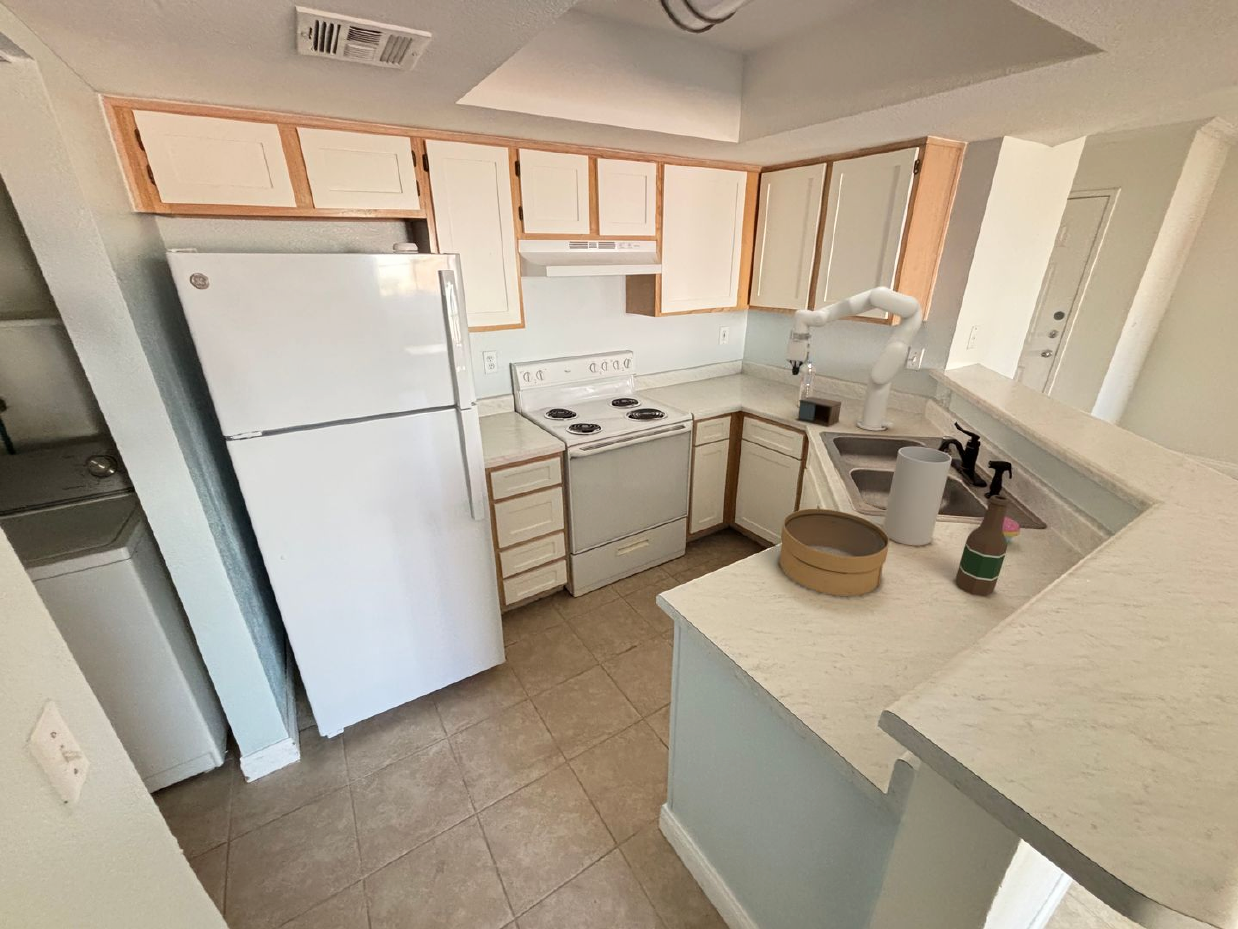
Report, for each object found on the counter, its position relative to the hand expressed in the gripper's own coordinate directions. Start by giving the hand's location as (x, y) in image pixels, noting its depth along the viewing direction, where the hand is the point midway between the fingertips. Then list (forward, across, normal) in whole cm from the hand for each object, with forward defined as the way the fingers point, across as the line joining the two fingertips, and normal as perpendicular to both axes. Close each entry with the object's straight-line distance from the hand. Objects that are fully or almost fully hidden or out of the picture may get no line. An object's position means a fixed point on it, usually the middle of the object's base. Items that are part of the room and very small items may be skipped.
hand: (795, 374), depth 247 cm
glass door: (+21, -8, 0) cm, 23 cm away
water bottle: (+22, +4, -25) cm, 34 cm away
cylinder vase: (+22, -82, +86) cm, 121 cm away
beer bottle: (+22, -102, +101) cm, 146 cm away
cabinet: (+22, -12, -6) cm, 26 cm away
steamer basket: (+22, -74, +118) cm, 141 cm away
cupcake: (+22, -102, +71) cm, 126 cm away
